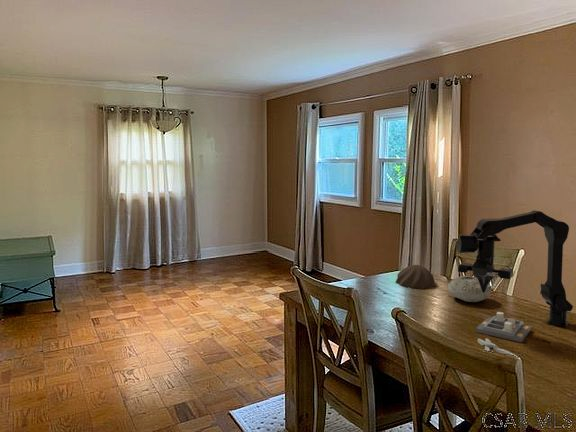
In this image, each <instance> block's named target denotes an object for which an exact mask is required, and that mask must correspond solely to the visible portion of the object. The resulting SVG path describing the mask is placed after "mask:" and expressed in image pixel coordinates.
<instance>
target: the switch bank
mask: <svg viewBox="0 0 576 432" xmlns="http://www.w3.org/2000/svg"><path fill="white" fill-rule="evenodd" d="M495 319H496V315H493V316H492V317H487V318H485V319H484V320H483V321H482V322H481V323H479V325H478V326H476V328H475V329H476V330H475V332H476V333H478V334H479V333H480V334H484V335H487V336H493V337H496V338H501V339H505V340H509V341H514V342H518V343H523V342H524V340H525V338H526V337H527V336H528V334H529V333H530V331H531V328H532V326H530V325H526V324H524V323H525V322H524V321H522V320H517V319H515V326H517V327H516V328H512V329H514V331H513V332H509V331H505V330H503V329H504V323H505V322H506V321H507V322H508V319H509V317H508V318H507V317H504V318H503V319H505V322H503V321H498V320H495Z"/></svg>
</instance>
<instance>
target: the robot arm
mask: <svg viewBox="0 0 576 432" xmlns="http://www.w3.org/2000/svg"><path fill="white" fill-rule="evenodd" d="M533 223H536V224H537V225H539V226H540V227H542V228H543V232H544V236H545V239H546V241H547V244H548V245H547V246H548V248H547V271H546V273H547V275H546V281H545V283H540V292H539V294H540V295H541V297H542V298H543V300H544V301H545V303H546V304H547V305H548V306H549V312H548V313H549V315H548V319H547V320H546V322H545V323H546V324H549V325H551V326H552V325H553V326H558V327H563V328H566V327H567V326H568V325H569V323H570V321H569V320H568V312H572V310H573V308H574V306H573V305H572V303H570V301H569V300H568V299H567V293H566V289H565V286H564V285H563V282H562V280H563V258H564V257H563V256H564V252H563V251H564V244H565V243H566V240H567V239H568V237H569V231H570V227H569V224H567V223H566V222H564V221H562V220H558V219H557V220H556V219H555V218H553V217H551V216H549V215H547V214H546V213H544V212H543V211H540V210H532V211H529V212H524V213H519V214H515V215H511V216H507V217H502V218H501V217H500V218H482V219H480V220H478V222H477V223H476V227H475V228H474V229H473V230H472V231H471V233H470V234H458V238H457V240H456V243H455V245H456V246H455V247H456V251H457V252H458V253H473V254H474V253H476V252H477V255H476V258H475V261H474V262H473V263H470V262H462V263H460V264H459V265H458V266H457V272H458V273H464V274H466V273H467V272H472V277H475V278H477V279H478V281H479V283H480V286H481V289H482V292H483V293H485V292H486V290H487V288H488V286H489V287H490V283H491V281H492V280H493V279H495V278H496V277H497V276H498V277H499V279H504V280H510V279H512V278H513V277H514V270H513V269H512V268H507V267H501V268H499V269H495V265H494V264H495V263H494V261H495V244H496V243H495V242H501V239H500V237H498V236H497V235H498V234H500V233H501V232H503V231H505V230H507V229H511V228H517V227H520V226H525V225H528V224H529V225H530V224H533Z"/></svg>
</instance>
